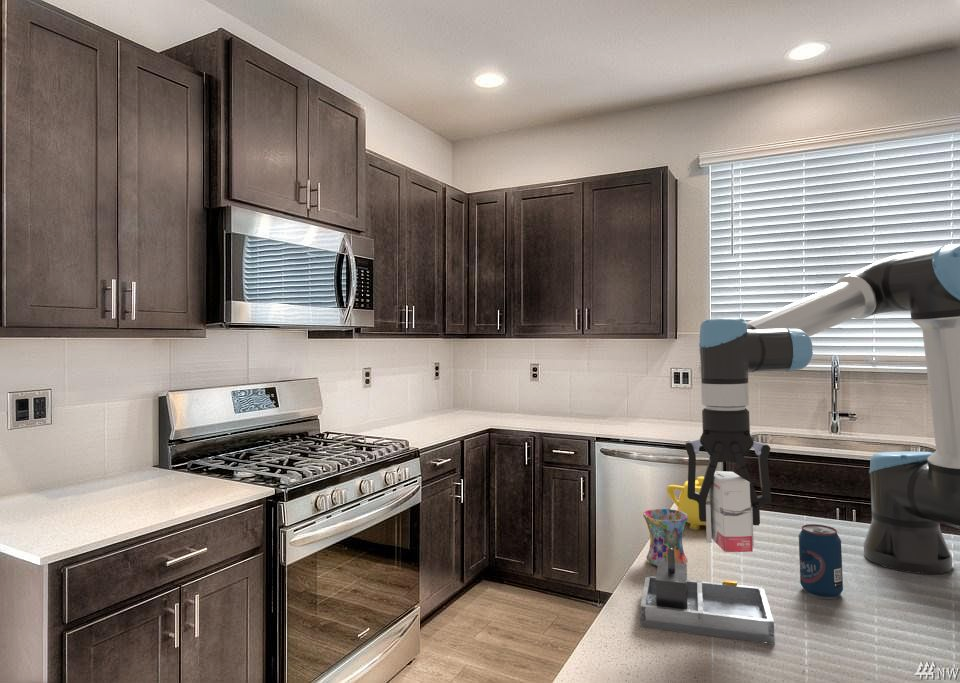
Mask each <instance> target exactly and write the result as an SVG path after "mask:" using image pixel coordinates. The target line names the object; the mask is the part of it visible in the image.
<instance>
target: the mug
mask: <svg viewBox="0 0 960 683" xmlns="http://www.w3.org/2000/svg"><path fill="white" fill-rule="evenodd" d="M642 516H643V518H644V520H645V522H646V525H647V529H648V532H649V548H648V552H647V555H646V561H647V562H648V563H650V564H652V565H653V566H656V567H658V561H660V562H668V554H667V550H668V549H669V548H673V549H674V553H675V563H682V564H687V563H688V558H687V556H686V554H685V551H684V545H683V534H684V529H685V526H686V524H687V522H686V521H687V518H688V516H687V514H685V513H684V512H681V511H678V509H672V508H652V509H647V510H645V511H644V512H643V514H642Z"/></svg>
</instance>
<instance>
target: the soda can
mask: <svg viewBox="0 0 960 683" xmlns="http://www.w3.org/2000/svg"><path fill="white" fill-rule="evenodd" d="M798 552H799V554H798V556H799V581H800V586H801V587H802V588H803V590H804V592H805V593H807V594H808V595H810V596H812V597H815V598H819V599H825V600H832V599H833V600H834V599H837V598H839V597H840V595H841V594H842V592H843V590H844V583H843V582H844V581H843V578H844V577H843V560H842V559H843V558H842V557H843V556H842V555H843V554H842V552H843V551H842V540H841V538H840V536H839V534H838V530H837V529H836V528H835V527H832V526H828V525H824V524H818V523H816V524H812V523H811V524H804V525H802V526H801V530H800V533H799V534H798Z"/></svg>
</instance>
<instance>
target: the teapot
mask: <svg viewBox="0 0 960 683" xmlns="http://www.w3.org/2000/svg"><path fill="white" fill-rule="evenodd" d="M703 479H704V476H697V478H696V479H695V492H698V493H699V492H700V489H701V486H702V483H703ZM675 490H681V491H680V492H679V496H678V499H677V496H676V494H675ZM666 494H667V495H668V497H669V499H671V501H672V502H673V504H675V505H676V507H677V510H678V511H681V512H684V513H685V514H687V516H688V518H687V521H686V523H688V524H690V525H689V529H691V530H699V529H700V526H706V522H701V521H700V519H699V504H698V502H697V501H695V500H693V499H689V498H688V496H687V495H688V480H686V481H684V484H683V485H678V484H669V485H667V486H666ZM706 501H708V496H707V500H706Z"/></svg>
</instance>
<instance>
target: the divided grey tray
mask: <svg viewBox="0 0 960 683" xmlns="http://www.w3.org/2000/svg"><path fill="white" fill-rule="evenodd" d="M667 554H668V562H660V561H658V566H656V567H657V568H656V576H655V575H645V579H644V583H643V591H642V596H641V601H640V627H641V628H647V629H655V630H662V631H670V632H679V633H685V634H694V635H700V636H707V635H708V636H709V637H716V638H723V639H732V640H739V641H746V642H753V643H754V641H755V643H760V642H767V643H766V644H768V643H773V644H772V645H776V639H775V638H776V637H775V622H774V618H773V616H772V612H771V608H770V605H769V601H768V598H767V594H766V592H765V588H764V587H762V586H752V585H751V586H750V585H742V584H738V582H737V580H725V579H722V580H721V582H714V581H713V582H711V581H705V580H704V581H702V580H694V579H693V580H692V579H688V568H687V567H688V565H687V563H686V564H682V563H675V553H674V549H673V548H669V549H668V550H667Z"/></svg>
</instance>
